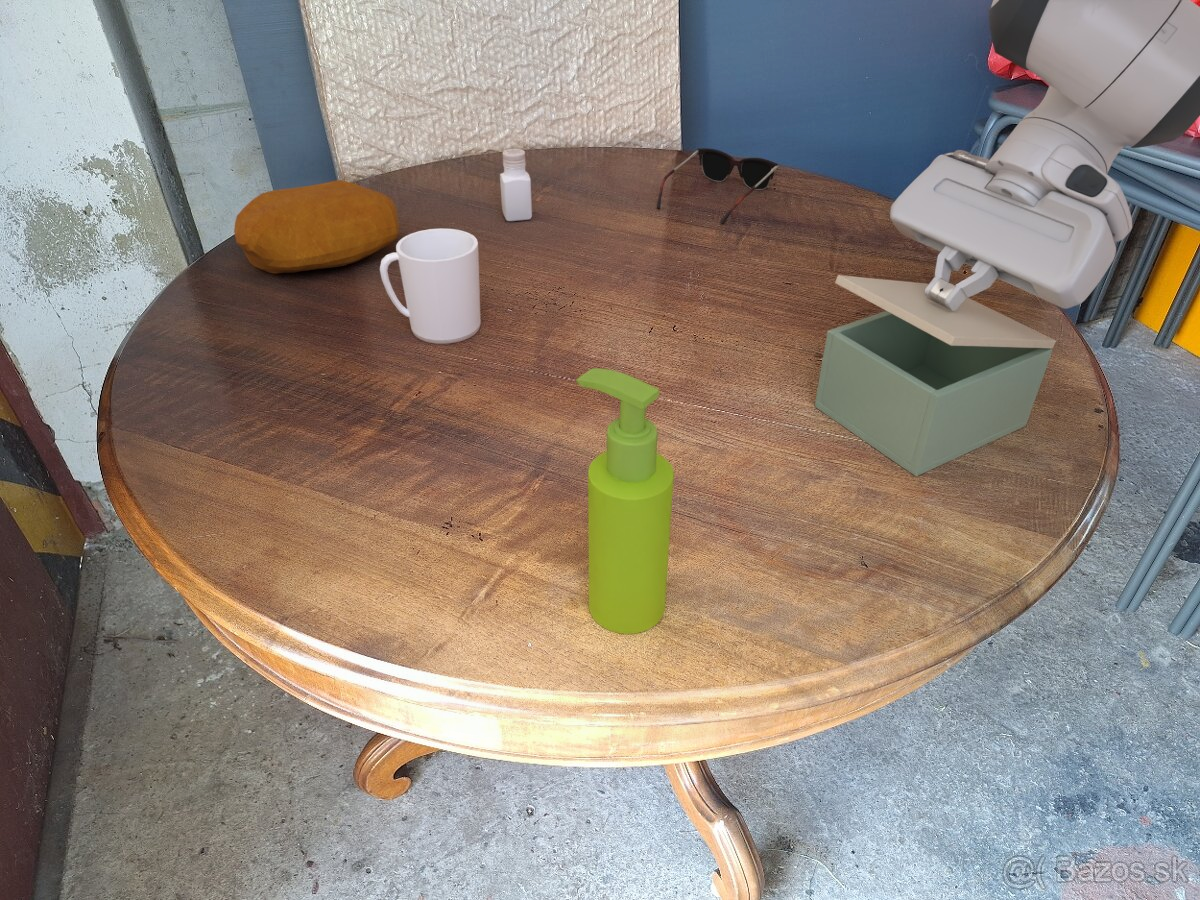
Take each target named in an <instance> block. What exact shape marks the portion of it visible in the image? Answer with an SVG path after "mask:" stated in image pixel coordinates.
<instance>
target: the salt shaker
mask: <svg viewBox="0 0 1200 900" xmlns="http://www.w3.org/2000/svg"><path fill="white" fill-rule="evenodd" d="M526 165H527V163H526V151H525V150H524V149H522V148H507V149H504V150H503V151H502V166H503V172H501V173H500V174H499V182H500V198H501V199H500V200H501V211H502V214H503V216H504V218H505V220H506V221H507V222H516V221H528V220H531V219H532V218H533V200H532V181H531V176H530V174H529V172H528V171H526Z"/></svg>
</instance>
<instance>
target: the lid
mask: <svg viewBox="0 0 1200 900" xmlns="http://www.w3.org/2000/svg"><path fill="white" fill-rule="evenodd" d="M834 283H835V284H836V285H837V286H840V287H841V288H844V289H845V290H847V291H849V292H851V293H852V294H855V295H856V296H858V297H860V298H862V299H863V300H866V301H868V302H869V303H871V304H873V305H875V306H877V307H878V308H880V309H882V310H884V311H888V312H890V313H891V314H893V315H895V316H897V317H899V318H901V319H902V320H904V321H906V322H908V323H910V324H912V325H914V326H915V327H917V328H919V329H921V330H923V331H925V332H926V333H928V334H930V335H932V336H934V337H936V338H938V339H939V340H941V341H943V342H945V343H947V344H949V345H951V346H985V347H1021V348H1052V349H1054V347H1055V345H1056V343H1057V340H1056V339H1054V338H1052V337H1050V336H1048V335H1046V334H1044V333H1041V332H1040V331H1037V330H1035V329H1033V328H1031V327H1029V326H1027V325H1025V324H1023V323H1021V322H1019V321H1016V319H1015V320H1014V319H1013V318H1011V317H1009V316H1007V315H1004V314H1002V313H1000V312H998V311H996V310H994V309H993V308H990V307H988V306H986V305H984V304H982V303H979V302H978V301H976V300H974V299H971V297H969V298H966V299H965V300H964V301H963V302H962V304H961V305H960V306H959V307H958V308H957V310H956V311H951V310H949V309H947V308H945V307H944V306H942V305H939V304H937V303H935V302H933V301H931V300H929V299H928V298H927V297H926V295H925V294H924V291H925V289H926V287H927V286H928V285H929V284H930V283H924V282H914V281H905V280H904V281H903V280H894V279H893V280H892V279H885V278H884V279H883V278H873V277H862V276H851V275H841V274H837V277H836V279H835V282H834Z"/></svg>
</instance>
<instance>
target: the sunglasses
mask: <svg viewBox="0 0 1200 900" xmlns="http://www.w3.org/2000/svg"><path fill="white" fill-rule="evenodd" d="M697 155H698V159H699V166H701V168H702V172H703V175H704V176H705V178H707V179H709V180H711V181H714V182H717V183H718V182H724V181H725V180H726V179H727V177H729V176H730V175H731V174H732V172H733V170H734V169H735V168H734V167H737V170H738V174H739V177H740V178H741V179H742V180H743V183H744V185H745V186H746V187H747V188H749V190H747V191H746V192H745V193H744V194H743V195H741V196H740V197H739V199H738V200H737V201H736V202H735V204H734V205H733V206H731V208H730V209H729V210H728V212H727V213H726V214H725V215H724V216H723V217H722V219H721V220H720V224H722V225H724V224H725V223H726V222H727V220H728V218H729V217H730V216H731V214H732V213H733V212H734V210H735V209H736V208H737V207H738V206H739V205H740V203H741V202H742V201H743V200H744V199H745V198H747V197H748V196H749V195H750V194H751V193H752V192H753V191H755V190H756V191H762V190H765V189H767V187H769V185H770V182H771V180H773V179H774V176H775V172H776V170H778V169H779V163H777V162H774V161H772V160H769V159H765V158H762V157H745V158H742V159H741V160H736V159H735V158H734V157H733V156H731V155H730V154H729V153H726V152H725V151H722V150H720V149H717V148H716V149H715V148H710V147H709V148H707V147H703V148H697V149H696V150H695V151H694V152H693V153H692V154H691V155H690V156H688V157H687V158H686V159H685V160H683V162H681V163H680V164H679V165H677V166H676V167H674V168H673V169H672V170H670V171H669V172H668V173H667V174H666V175H664V177H663V179H662V180H661V183H660V186H659V187H660V188H659V192H658V198H657V204H656V209H657V210H660V209H661V206H662V196H663V190H664V186H665V183H666V182H667V179H668V178H669V177H670V176H672V175H673V174H674V173H675V172H676V171H677V170H678V169H679V168H681V167H682V166H683V165H685V164H686V163H687V162H688V161H689V160H691V159H692V158H694V157H695V156H697Z"/></svg>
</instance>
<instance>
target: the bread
mask: <svg viewBox="0 0 1200 900" xmlns="http://www.w3.org/2000/svg"><path fill="white" fill-rule="evenodd" d="M397 211H398V210H397V206H396V205H395V203H394V201H393V199H392V198H391V197H389V196H388V195H386V194H384V193H383V192H380V191H377V190H374V189H371V188H368V187H366V186H362V185H360V184H358V183H354V182H350V181H346V180H342V179H337V180H332V181H327V182H323V183H318V184H312V185H311V184H310V185H306V186H305V185H304V186H298V187H290V188H289V187H288V188H281V189H273V190H271V191H266V192H262V193H260V194H259V195H257V196H256V197H254V198H253V199H251V200H250V201H249V202H248V203H247V204H246V205H245V206H244V207H243V208H242V209H241V210H240V211H239V213H237V215H236V218H235V222H234V228H233V229H234V230H233V231H234V232H233V234H234V237H235V242H236V244H237V246H239V247H240V249H241V250H242V251H243V253H244V255H245V258H246V259H247V260H248V262H249V263H250V265H252V266H253V267H255V268H256V269H259V270H262V271H263V272H266V273H270V274H289V273H290V274H291V273H299V272H304V271H313V270H322V269H332V268H339V267H344V266H348V265H350V264H354V263H357V262H358V261H361V260H363V259H364V258H367V257H370V256H372V255H373V254H376V253H377V252H379V251H381V250H382V249H384V248H386V247H387V246H389V245H390V244H392V243H393V242H394V241H395V240H396V239H397V238H398V237H399V234H400V224H399V218H398V212H397Z"/></svg>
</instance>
